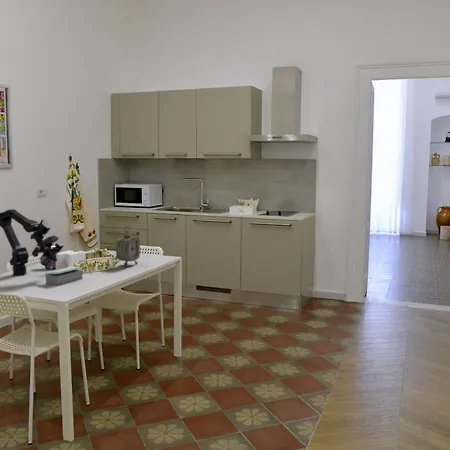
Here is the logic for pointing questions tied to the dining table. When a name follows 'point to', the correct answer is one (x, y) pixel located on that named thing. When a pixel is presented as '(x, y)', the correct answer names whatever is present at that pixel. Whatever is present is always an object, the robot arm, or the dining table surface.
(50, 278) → the grey open box
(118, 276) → the dining table surface
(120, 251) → the tabletop clock
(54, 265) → the decorative flower
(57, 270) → the cover
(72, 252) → the cable organizer
